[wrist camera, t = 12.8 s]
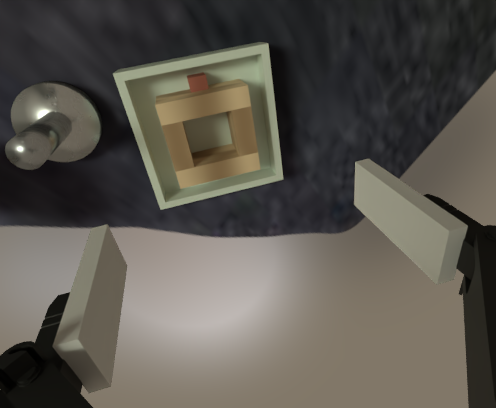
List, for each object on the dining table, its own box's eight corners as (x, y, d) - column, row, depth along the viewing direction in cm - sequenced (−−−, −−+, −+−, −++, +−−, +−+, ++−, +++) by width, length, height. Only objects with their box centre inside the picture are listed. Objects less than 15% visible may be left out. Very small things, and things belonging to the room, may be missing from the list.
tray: (117, 69, 29) (112, 73, 26) (260, 41, 30) (268, 43, 28) (161, 197, 36) (160, 209, 33) (275, 169, 37) (283, 179, 35)
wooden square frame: (178, 172, 34) (180, 188, 31) (152, 82, 29) (150, 90, 26) (251, 155, 35) (260, 169, 32) (236, 65, 30) (245, 70, 27)
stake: (1, 89, 28) (-62, 114, 20) (84, 73, 28) (54, 91, 21) (41, 163, 31) (0, 208, 23) (113, 147, 32) (97, 186, 24)
